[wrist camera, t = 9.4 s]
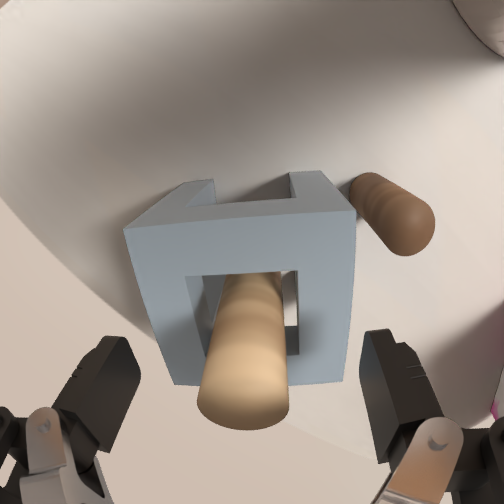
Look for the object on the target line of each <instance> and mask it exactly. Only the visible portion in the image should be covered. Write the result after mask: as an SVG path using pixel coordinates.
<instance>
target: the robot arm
mask: <svg viewBox="0 0 504 504" xmlns="http://www.w3.org/2000/svg"><path fill="white" fill-rule="evenodd" d="M452 1H453V3H454V5H455V6H456V8H457V10H458V11H459V13H460V15H461V16H462V18H463V19H464V20H465V22H466V23H467V25H468V26H469V27H470V29H471V30H472V31H473V32H474V33H475V34H476V36H477V37H478V38H479V39H480V40H481V41H482V42H483V43H484V44H485V45H486V46H487V47H489V48H490V49H491V50H493V51H494V52H495V53H497V54H498V55H500V56H502V57H504V0H452ZM359 378H360V384H361V388H362V392H363V396H364V400H365V404H366V408H367V413H368V417H369V422H370V426H371V431H372V435H373V440H374V445H375V450H376V455H377V460H378V464H381V463H386V462H389V465H390V469H391V472H390V473H389V475H388V477H387V478H386V480H385V482H384V483H383V485H382V487H381V488H380V490H379V491H378V493H377V494H376V496H375V498H374V499H373V501H372V502H371V504H439V503H440V501H441V499H442V497H443V495H444V492H451V495H452V500H453V504H504V416H503V417H500V418H499V419H497V420H496V421H495V422H494V423H493V425H492V426H491V427H490V428H481V429H480V428H479V429H464V428H460V426H459V425H458V424H457V423H456V422H454V421H453V420H451V419H449V418H445V416H444V415H443V413H442V410H441V408H440V406H439V403H438V401H437V398H436V396H435V394H434V391H433V389H432V387H431V384H430V382H429V380H428V378H427V377H426V373H425V371H424V369H423V367H421V363H420V360H419V358H418V356H417V354H416V352H415V351H414V350H413V349H412V348H411V347H409V346H408V345H407V344H406V343H405V342H402V343H396V342H395V340H394V337H393V335H392V333H391V331H390V330H389V329H380V330H372V331H366V332H365V335H364V341H363V347H362V353H361V359H360V364H359ZM140 379H141V372H140V367H139V365H138V363H137V361H136V359H135V356H134V354H133V352H132V349H131V347H130V345H129V343H128V340H127V339H126V338H125V337H118V336H104V337H103V338H102V339H101V341H100V342H99V344H98V345H97V347H96V348H94V349H92V350H91V351H90V352H89V353H87V354H86V355H85V356H84V357H83V358H82V360H81V361H80V363H79V364H78V366H77V369H75V370H74V372H73V374H72V377H70V378H69V380H68V381H67V383H66V384H65V386H64V388H63V389H62V391H61V392H60V394H59V396H58V397H57V399H56V400H55V402H54V404H53V405H52V407H51V408H50V407H42V408H39V409H37V410H35V411H34V412H33V413H32V414H31V415H30V416H29V418H18V417H17V418H16V417H14V416H13V414H12V413H11V412H10V411H9V410H8V409H7V408H5V407H0V468H1V466H2V464H3V462H4V460H5V458H6V456H7V454H10V455H11V456H12V457H13V458H14V459H15V460H16V461H17V462H16V464H15V466H14V468H13V470H12V473H11V475H10V477H9V480H8V482H7V484H6V486H5V487H3V488H2V487H1V486H0V504H114V502H113V501H112V498H111V496H110V493H109V491H108V488H107V485H106V482H105V479H104V476H103V474H102V470H101V467H100V464H99V461H98V459H97V457H96V456H95V455H96V452H97V450H100V451H103V452H107V453H110V451H111V448H112V446H113V444H114V441H115V439H116V436H117V434H118V432H119V429H120V427H121V425H122V422H123V420H124V418H125V415H126V413H127V410H128V408H129V406H130V404H131V401H132V399H133V397H134V395H135V392H136V390H137V388H138V385H139V383H140Z"/></svg>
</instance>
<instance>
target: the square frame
mask: <svg viewBox="0 0 504 504" xmlns="http://www.w3.org/2000/svg"><path fill="white" fill-rule="evenodd" d="M289 178H290V191H291V198H287V199H272V200H259V201H247V202H235V203H224V204H217V203H216V196H215V189H214V182H213V179H210V180H201V181H193V182H185V183H183V184H181V185H180V186H179V187H177V188H176V189H175V190H173V191H172V192H170V193H169V194H168V195H166V196H165V197H164V198H162V199H161V200H160V201H158V202H157V203H156V204H154V205H153V206H152V207H150V208H149V209H148V210H146V211H145V212H144V213H143V214H141V215H140V216H139V217H137V218H136V219H135V220H134V221H132V222H131V223H130V224H129V225H127V226H126V227H125V228H124V229H123V232H124V236H125V240H126V244H127V247H128V251H129V255H130V259H131V262H132V266H133V269H134V273H135V276H136V279H137V283H138V286H139V289H140V292H141V296H142V299H143V302H144V305H145V308H146V311H147V314H148V317H149V320H150V323H151V326H152V328H153V331H154V334H155V337H156V340H157V342H158V345H159V347H160V350H161V353H162V355H163V358H164V360H165V363H166V366H167V368H168V371H169V373H170V376H171V378H172V380H173V383H174V385H189V386H200V384H201V380H202V375H203V371H204V366H205V362H206V358H207V353H208V349H209V345H210V340H211V336H212V332H213V328H214V323H215V319H216V315H217V311H218V306H219V302H220V298H221V294H222V290H223V286H224V282H225V277H226V274H242V273H259V272H276V271H292V270H295V284H296V300H297V326H285V342H286V358H287V375H288V386H294V385H309V384H322V383H332V382H342V381H343V375H344V368H345V361H346V354H347V346H348V337H349V329H350V319H351V308H352V297H353V284H354V268H355V247H356V209H355V208H354V207H353V206H352V205H351V204H350V203H349V201H348V200H347V199H346V198H345V197H344V196H343V195H342V194H341V192H340V191H339V190H338V189H337V188H336V187H335V186H334V185H333V184H332V183H331V182H330V180H329V179H328V178H327V177H326V176H325V175H324V174H323V173H322V172H321V171H304V172H289Z"/></svg>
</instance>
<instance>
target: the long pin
mask: <svg viewBox="0 0 504 504" xmlns="http://www.w3.org/2000/svg"><path fill="white" fill-rule="evenodd" d="M197 406H198V408H199V410H200V412H201V413H202V414H203V415H204V416H205V417H206V418H207V419H209V420H210V421H212V422H214V423H216V424H218V425H220V426H223V427H226V428H231V429H236V430H258V429H263V428H267V427H270V426H273V425H275V424H277V423H279V422H280V421H281V420H283V419H284V418H285V416H286V415H287V413H288V411H289V394H288V375H287V358H286V342H285V326H284V312H283V298H282V285H281V272H280V271H276V272H259V273H242V274H226V277H225V282H224V286H223V290H222V294H221V298H220V302H219V306H218V311H217V315H216V319H215V323H214V328H213V332H212V336H211V340H210V345H209V349H208V353H207V358H206V362H205V366H204V371H203V375H202V380H201V384H200V389H199V393H198V398H197Z"/></svg>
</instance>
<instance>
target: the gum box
mask: <svg viewBox="0 0 504 504" xmlns="http://www.w3.org/2000/svg"><path fill="white" fill-rule="evenodd" d="M491 413H492V415H493V417H494V419H495V421H496V420H497V419H499V418H500V417H503V416H504V368H503V370H502V374H501V378H500V383H499V386H498V389H497V392H496V395H495V398H494V402H493V405H492V408H491Z"/></svg>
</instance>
